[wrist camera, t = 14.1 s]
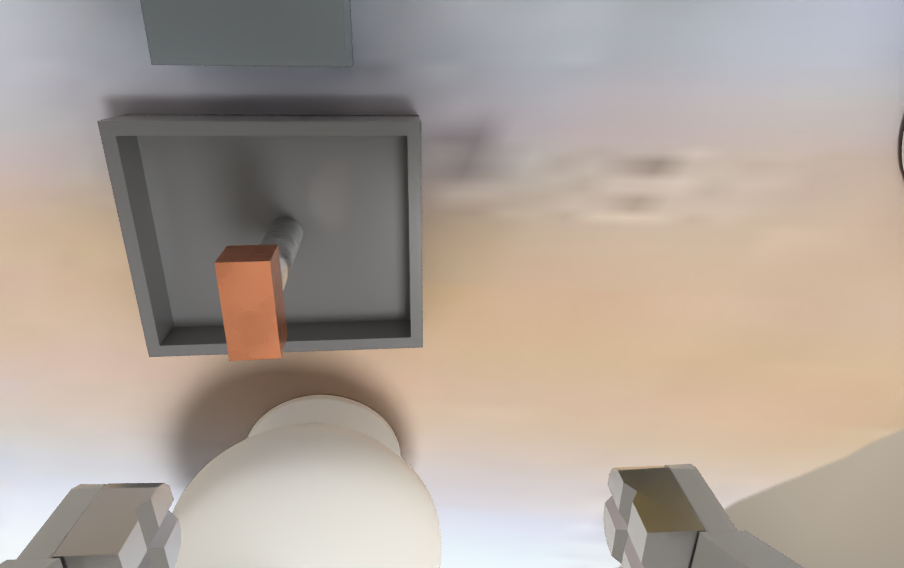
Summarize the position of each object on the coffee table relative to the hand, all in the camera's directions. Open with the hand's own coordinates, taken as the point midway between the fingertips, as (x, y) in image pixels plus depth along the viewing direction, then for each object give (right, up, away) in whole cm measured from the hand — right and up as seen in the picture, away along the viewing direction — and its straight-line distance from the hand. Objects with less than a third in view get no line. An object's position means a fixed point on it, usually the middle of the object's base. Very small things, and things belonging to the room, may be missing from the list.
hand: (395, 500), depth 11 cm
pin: (-10, +7, +27) cm, 30 cm away
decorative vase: (-9, -10, +35) cm, 38 cm away
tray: (-10, +8, +28) cm, 31 cm away
